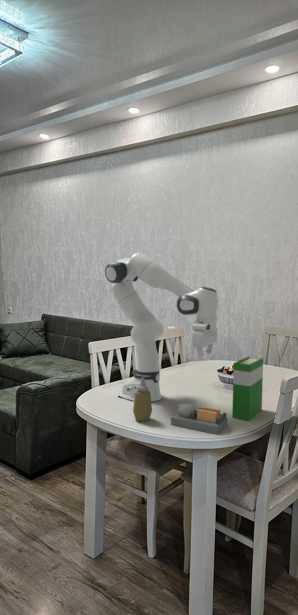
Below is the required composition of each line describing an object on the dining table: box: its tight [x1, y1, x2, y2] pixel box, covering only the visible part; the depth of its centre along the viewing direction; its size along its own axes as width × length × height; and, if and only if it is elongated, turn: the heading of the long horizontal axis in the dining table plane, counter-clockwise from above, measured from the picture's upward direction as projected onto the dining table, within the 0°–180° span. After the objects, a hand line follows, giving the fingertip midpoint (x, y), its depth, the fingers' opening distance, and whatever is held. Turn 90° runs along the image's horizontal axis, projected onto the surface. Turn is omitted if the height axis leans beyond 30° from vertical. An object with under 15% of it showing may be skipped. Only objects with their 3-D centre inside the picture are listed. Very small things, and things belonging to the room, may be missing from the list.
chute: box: [196, 406, 221, 423], centre depth 163 cm, size 8×5×4 cm, turn 60°
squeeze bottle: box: [132, 378, 153, 423], centre depth 170 cm, size 8×8×18 cm
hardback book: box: [231, 356, 264, 422], centre depth 179 cm, size 18×7×24 cm, turn 147°
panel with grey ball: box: [170, 402, 229, 435], centre depth 165 cm, size 20×12×7 cm, turn 60°
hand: (204, 355), depth 178 cm, fingers open, 8 cm apart
